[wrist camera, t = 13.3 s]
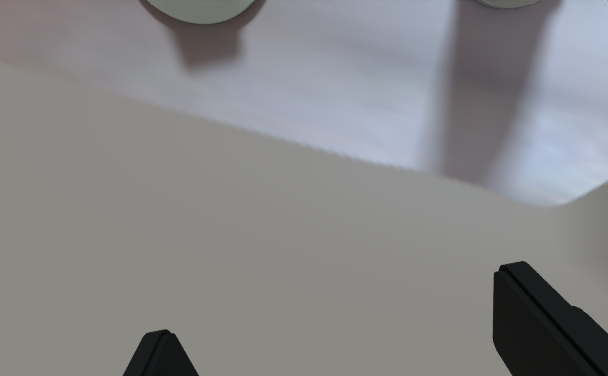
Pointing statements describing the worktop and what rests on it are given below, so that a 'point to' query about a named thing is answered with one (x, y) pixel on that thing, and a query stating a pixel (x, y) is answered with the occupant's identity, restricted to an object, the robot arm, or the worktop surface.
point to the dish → (202, 9)
